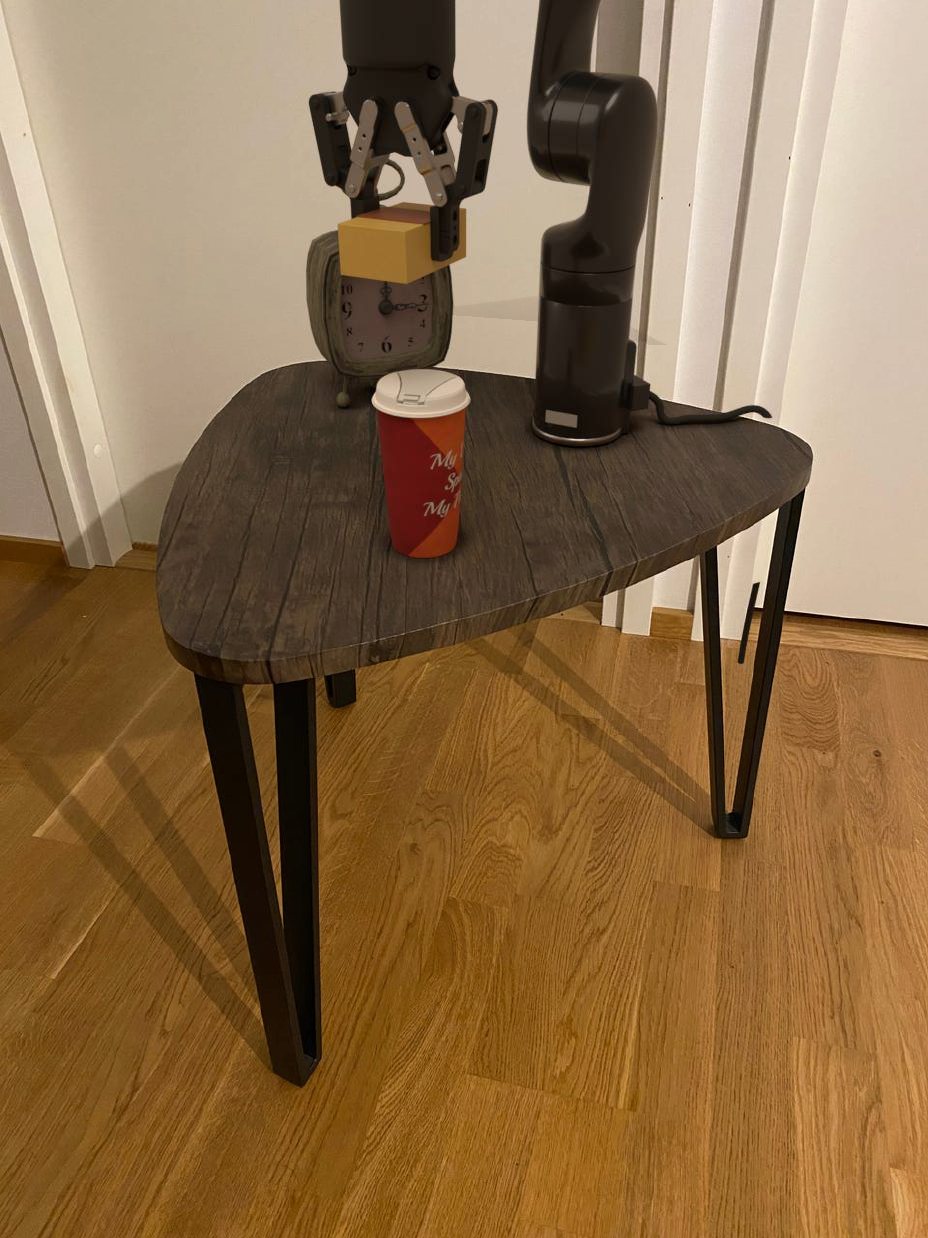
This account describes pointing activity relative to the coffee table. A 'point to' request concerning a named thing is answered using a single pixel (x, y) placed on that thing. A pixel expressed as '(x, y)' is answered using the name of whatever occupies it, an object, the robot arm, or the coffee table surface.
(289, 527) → the coffee table surface
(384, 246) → the tea packet
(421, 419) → the paper cup
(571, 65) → the robot arm
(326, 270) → the tabletop clock
